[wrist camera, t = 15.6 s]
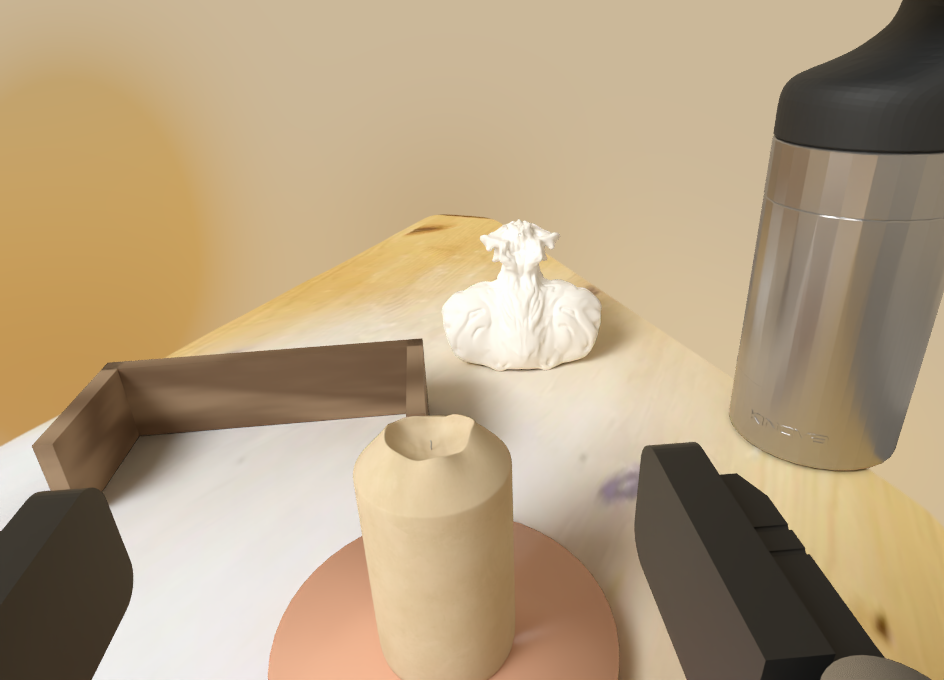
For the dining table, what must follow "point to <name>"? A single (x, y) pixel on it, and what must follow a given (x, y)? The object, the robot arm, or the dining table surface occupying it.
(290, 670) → the saucer
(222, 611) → the dining table surface
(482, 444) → the candle
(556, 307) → the bust
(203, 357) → the wooden frame
